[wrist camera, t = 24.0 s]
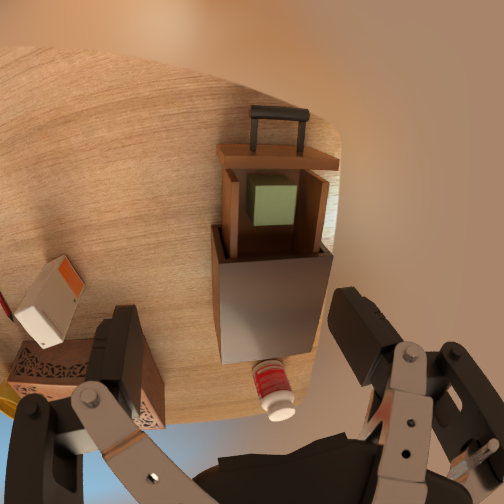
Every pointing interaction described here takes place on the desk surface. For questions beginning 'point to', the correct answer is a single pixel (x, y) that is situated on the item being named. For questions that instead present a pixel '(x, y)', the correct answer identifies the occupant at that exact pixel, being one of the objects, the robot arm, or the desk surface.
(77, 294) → the cosmetic box
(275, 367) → the pill bottle
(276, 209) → the block
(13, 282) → the desk surface
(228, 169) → the drawer
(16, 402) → the flower pot
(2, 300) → the pencil
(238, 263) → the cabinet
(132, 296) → the desk surface
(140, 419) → the tissue box cover
